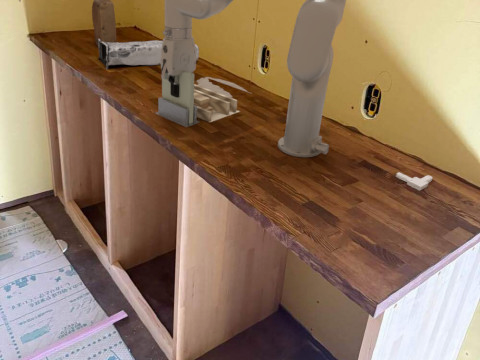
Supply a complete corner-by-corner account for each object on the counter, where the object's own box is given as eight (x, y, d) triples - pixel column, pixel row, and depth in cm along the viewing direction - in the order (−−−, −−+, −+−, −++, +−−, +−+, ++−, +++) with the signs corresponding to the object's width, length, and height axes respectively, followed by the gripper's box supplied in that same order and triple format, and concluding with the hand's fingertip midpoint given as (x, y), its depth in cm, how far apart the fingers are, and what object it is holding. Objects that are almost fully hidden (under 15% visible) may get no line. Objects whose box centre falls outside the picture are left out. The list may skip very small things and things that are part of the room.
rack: (239, 115, 155) (240, 99, 152) (209, 126, 145) (210, 109, 143) (196, 98, 166) (196, 83, 163) (165, 107, 156) (165, 91, 153)
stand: (200, 126, 145) (201, 106, 142) (186, 131, 141) (186, 111, 138) (169, 112, 153) (169, 93, 149) (154, 117, 148) (154, 97, 145)
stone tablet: (226, 112, 158) (227, 105, 157) (186, 84, 180) (187, 77, 178) (267, 106, 166) (268, 99, 165) (225, 79, 188) (225, 73, 186)
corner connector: (408, 171, 130) (410, 165, 130) (435, 183, 125) (437, 178, 125) (392, 179, 126) (393, 173, 125) (419, 192, 121) (420, 186, 120)
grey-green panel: (193, 122, 143) (194, 73, 136) (189, 123, 142) (190, 74, 135) (166, 110, 150) (165, 63, 142) (162, 112, 149) (161, 64, 141)
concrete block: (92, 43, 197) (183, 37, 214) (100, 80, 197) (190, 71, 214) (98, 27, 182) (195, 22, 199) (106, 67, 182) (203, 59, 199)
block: (118, 48, 214) (115, 1, 204) (102, 50, 210) (98, 2, 200) (107, 42, 221) (105, -4, 211) (92, 44, 217) (88, -3, 207)
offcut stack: (212, 112, 152) (213, 98, 149) (201, 116, 148) (202, 102, 146) (190, 103, 157) (190, 90, 155) (179, 106, 154) (179, 93, 151)
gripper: (166, 39, 126) (166, 105, 135) (207, 32, 137) (205, 93, 146) (147, 33, 130) (148, 97, 139) (189, 26, 141) (187, 87, 150)
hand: (177, 95), depth 142 cm, fingers closed on grey-green panel, 1 cm apart
